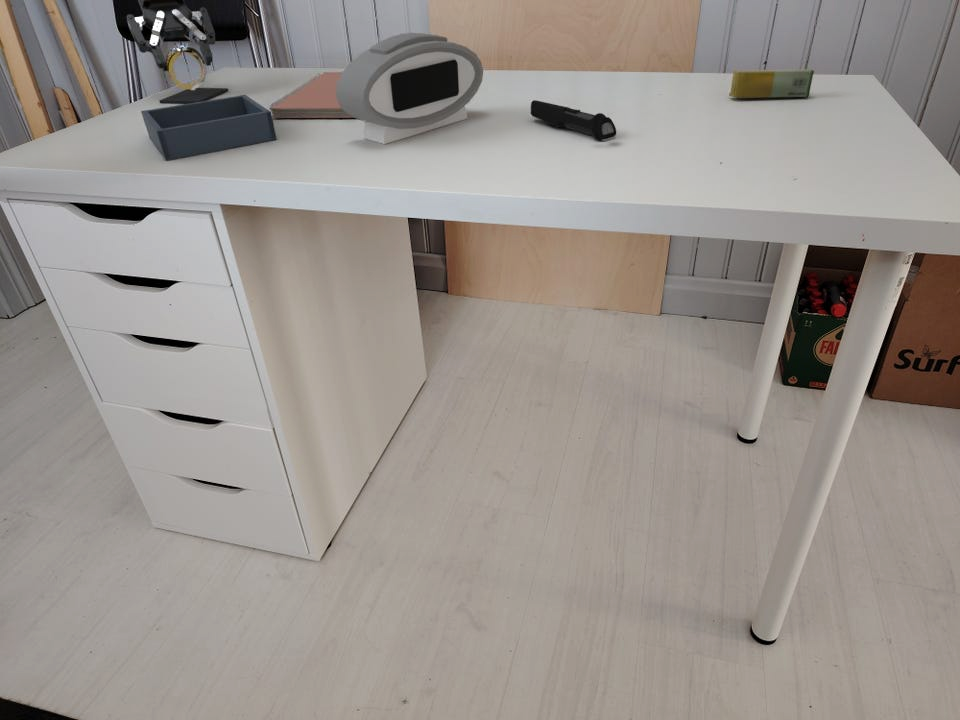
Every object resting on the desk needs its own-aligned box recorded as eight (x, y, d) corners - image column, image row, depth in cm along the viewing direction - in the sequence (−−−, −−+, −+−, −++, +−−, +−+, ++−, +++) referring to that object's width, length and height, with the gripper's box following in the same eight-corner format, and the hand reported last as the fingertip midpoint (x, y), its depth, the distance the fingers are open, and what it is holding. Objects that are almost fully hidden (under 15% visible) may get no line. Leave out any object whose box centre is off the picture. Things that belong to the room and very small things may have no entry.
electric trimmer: (542, 118, 101) (543, 96, 99) (618, 137, 90) (620, 113, 88) (524, 122, 99) (524, 101, 97) (599, 142, 88) (600, 118, 87)
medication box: (802, 95, 105) (808, 68, 103) (809, 97, 103) (815, 70, 101) (728, 96, 106) (732, 69, 104) (733, 98, 103) (738, 70, 101)
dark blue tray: (166, 160, 89) (156, 131, 87) (149, 138, 98) (140, 111, 96) (276, 139, 95) (270, 111, 93) (251, 120, 105) (245, 94, 103)
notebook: (320, 81, 127) (318, 70, 126) (404, 80, 125) (403, 69, 124) (265, 119, 105) (262, 106, 104) (365, 119, 103) (364, 106, 102)
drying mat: (198, 104, 116) (197, 101, 115) (159, 103, 117) (159, 100, 117) (228, 90, 124) (227, 88, 123) (191, 90, 125) (191, 87, 125)
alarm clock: (369, 151, 89) (356, 50, 82) (343, 143, 93) (328, 45, 85) (485, 115, 102) (482, 25, 95) (458, 109, 106) (453, 22, 99)
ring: (177, 94, 117) (163, 46, 112) (170, 92, 119) (156, 44, 114) (214, 87, 121) (202, 40, 116) (207, 85, 123) (195, 39, 118)
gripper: (109, -27, 111) (142, 57, 110) (194, -33, 117) (227, 46, 116) (115, 5, 118) (147, 84, 117) (196, -2, 124) (227, 73, 123)
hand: (187, 65), depth 116 cm, fingers closed on ring, 7 cm apart
